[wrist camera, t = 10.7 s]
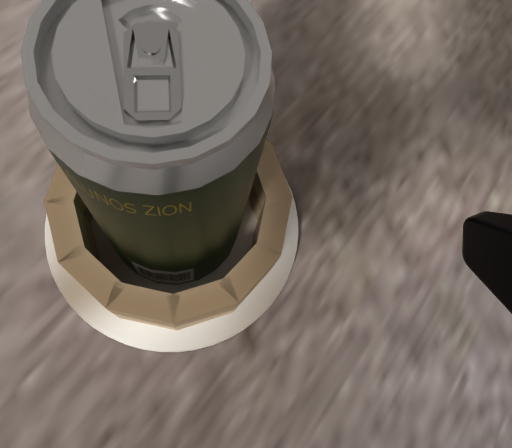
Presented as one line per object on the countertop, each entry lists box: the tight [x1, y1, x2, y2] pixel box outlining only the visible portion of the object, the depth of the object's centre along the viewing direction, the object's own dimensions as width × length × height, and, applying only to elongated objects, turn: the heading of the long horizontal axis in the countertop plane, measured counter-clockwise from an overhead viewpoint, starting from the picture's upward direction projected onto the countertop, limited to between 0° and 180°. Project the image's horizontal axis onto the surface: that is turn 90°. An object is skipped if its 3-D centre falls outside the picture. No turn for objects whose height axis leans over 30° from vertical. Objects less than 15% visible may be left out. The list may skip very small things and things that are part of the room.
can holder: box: [44, 139, 298, 352], centre depth 20 cm, size 11×11×3 cm
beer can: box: [21, 0, 276, 285], centre depth 15 cm, size 5×5×12 cm
